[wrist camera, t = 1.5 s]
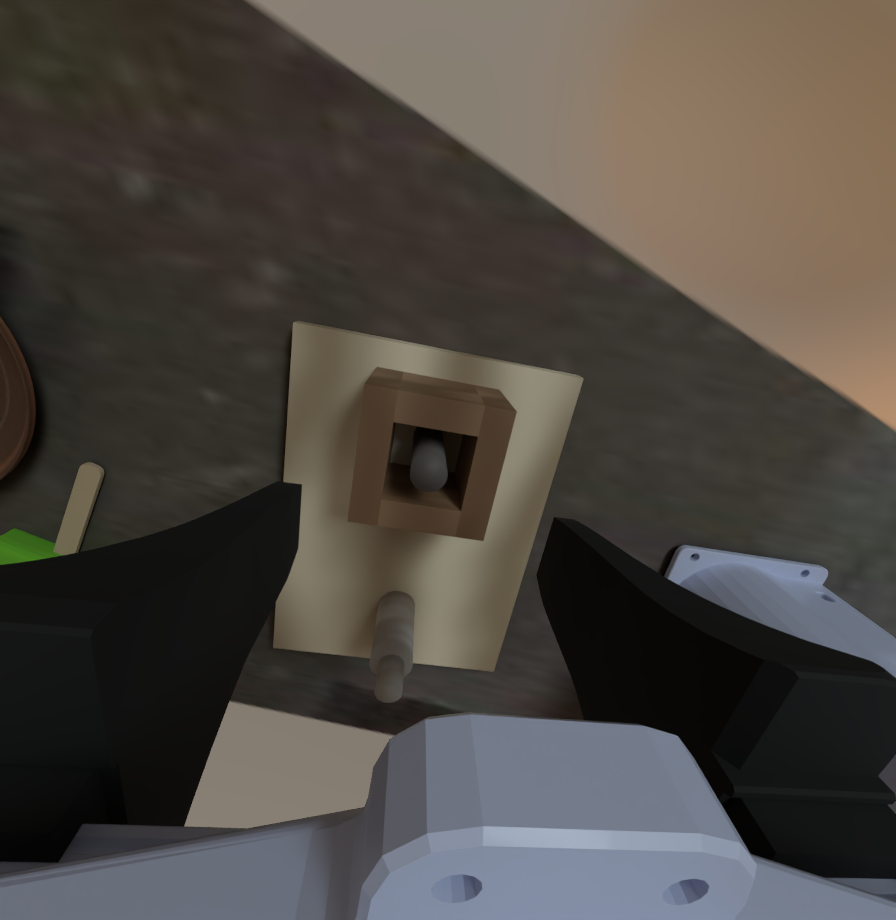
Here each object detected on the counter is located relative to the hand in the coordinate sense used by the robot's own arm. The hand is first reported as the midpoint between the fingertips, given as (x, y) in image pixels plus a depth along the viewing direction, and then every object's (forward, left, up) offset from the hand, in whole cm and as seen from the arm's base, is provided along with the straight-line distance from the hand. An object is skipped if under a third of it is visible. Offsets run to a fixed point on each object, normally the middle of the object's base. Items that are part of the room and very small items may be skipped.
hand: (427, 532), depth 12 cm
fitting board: (0, +5, -10) cm, 11 cm away
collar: (0, 0, -9) cm, 9 cm away
